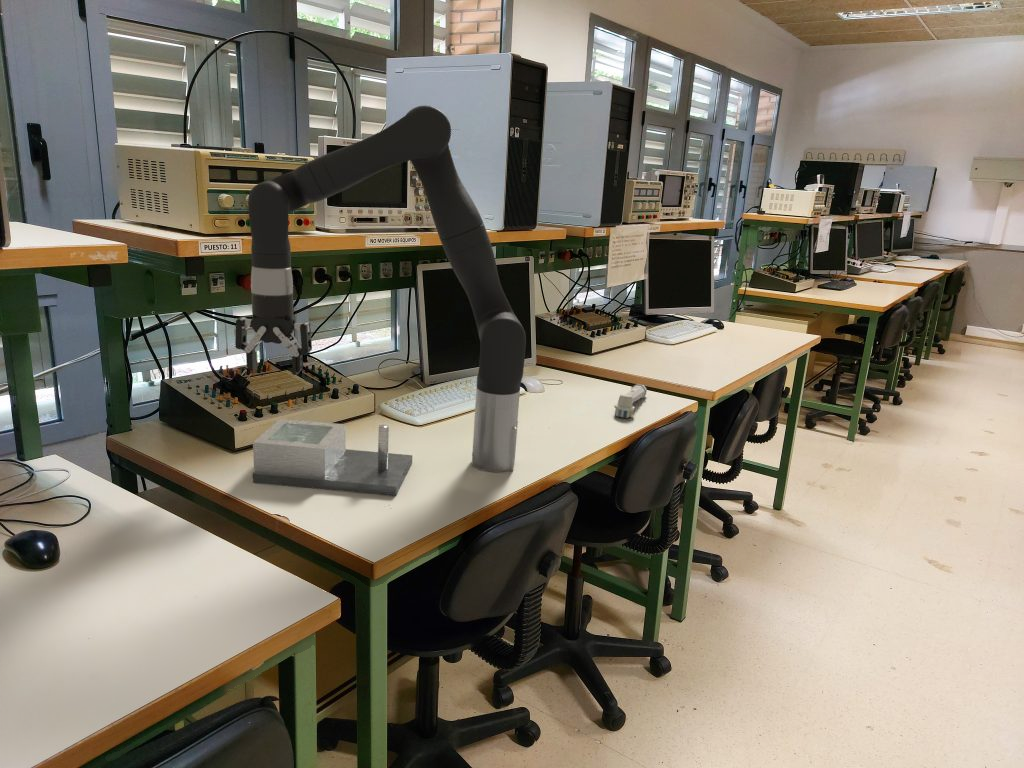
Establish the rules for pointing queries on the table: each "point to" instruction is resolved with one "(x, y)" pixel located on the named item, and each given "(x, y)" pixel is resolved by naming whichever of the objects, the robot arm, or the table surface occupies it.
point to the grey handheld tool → (629, 401)
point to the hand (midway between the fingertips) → (274, 372)
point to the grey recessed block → (299, 448)
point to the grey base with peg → (354, 472)
